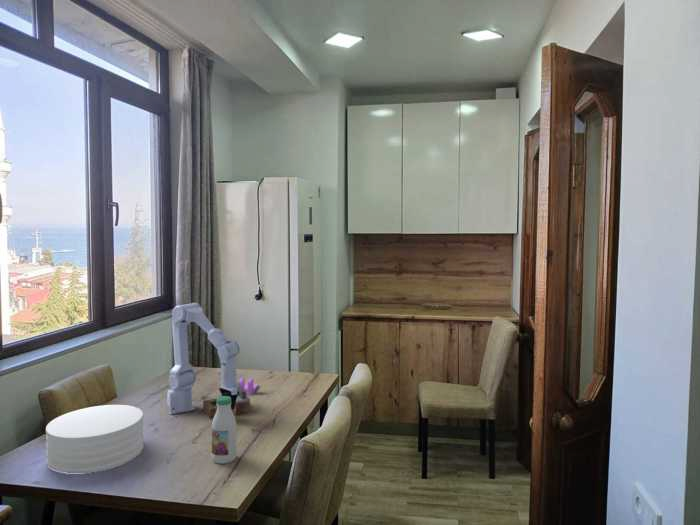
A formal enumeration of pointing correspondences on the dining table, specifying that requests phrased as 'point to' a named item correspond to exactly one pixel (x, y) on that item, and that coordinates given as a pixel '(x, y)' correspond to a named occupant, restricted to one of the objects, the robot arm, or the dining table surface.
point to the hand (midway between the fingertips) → (229, 407)
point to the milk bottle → (224, 432)
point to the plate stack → (94, 438)
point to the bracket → (248, 386)
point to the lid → (241, 396)
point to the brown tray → (211, 407)
